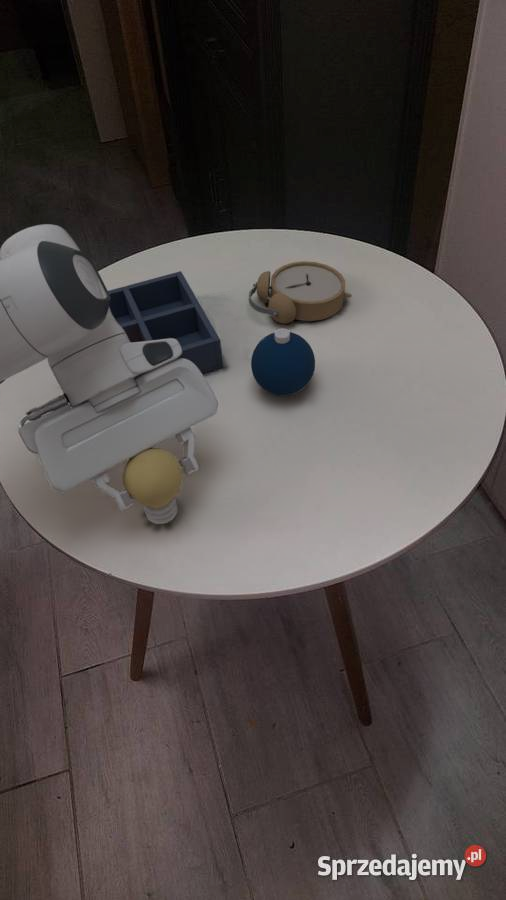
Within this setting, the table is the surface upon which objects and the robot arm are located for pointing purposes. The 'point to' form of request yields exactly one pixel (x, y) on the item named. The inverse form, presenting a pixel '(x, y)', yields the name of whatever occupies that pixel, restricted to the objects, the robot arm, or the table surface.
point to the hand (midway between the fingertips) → (160, 489)
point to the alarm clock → (300, 292)
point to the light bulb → (154, 483)
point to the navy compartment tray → (168, 318)
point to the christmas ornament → (283, 363)
